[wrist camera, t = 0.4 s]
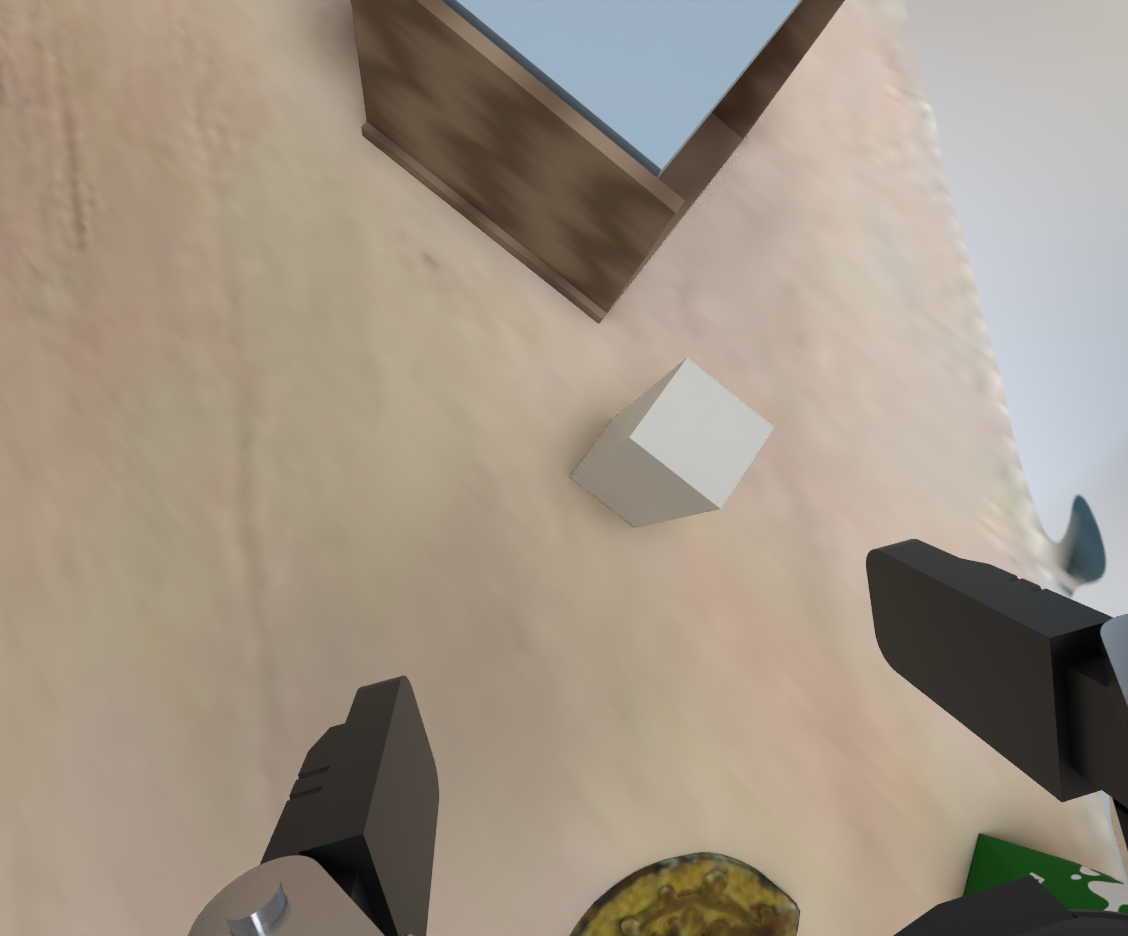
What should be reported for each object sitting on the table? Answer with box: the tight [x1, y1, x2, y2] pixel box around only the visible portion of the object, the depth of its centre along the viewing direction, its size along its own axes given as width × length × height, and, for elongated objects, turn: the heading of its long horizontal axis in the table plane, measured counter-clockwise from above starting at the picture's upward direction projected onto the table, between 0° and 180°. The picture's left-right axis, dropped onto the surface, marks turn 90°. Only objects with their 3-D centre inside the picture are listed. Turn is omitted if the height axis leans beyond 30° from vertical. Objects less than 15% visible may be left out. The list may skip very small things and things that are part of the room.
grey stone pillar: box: [570, 358, 774, 527], centre depth 34 cm, size 5×5×12 cm
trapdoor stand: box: [351, 0, 845, 323], centre depth 37 cm, size 18×18×12 cm
